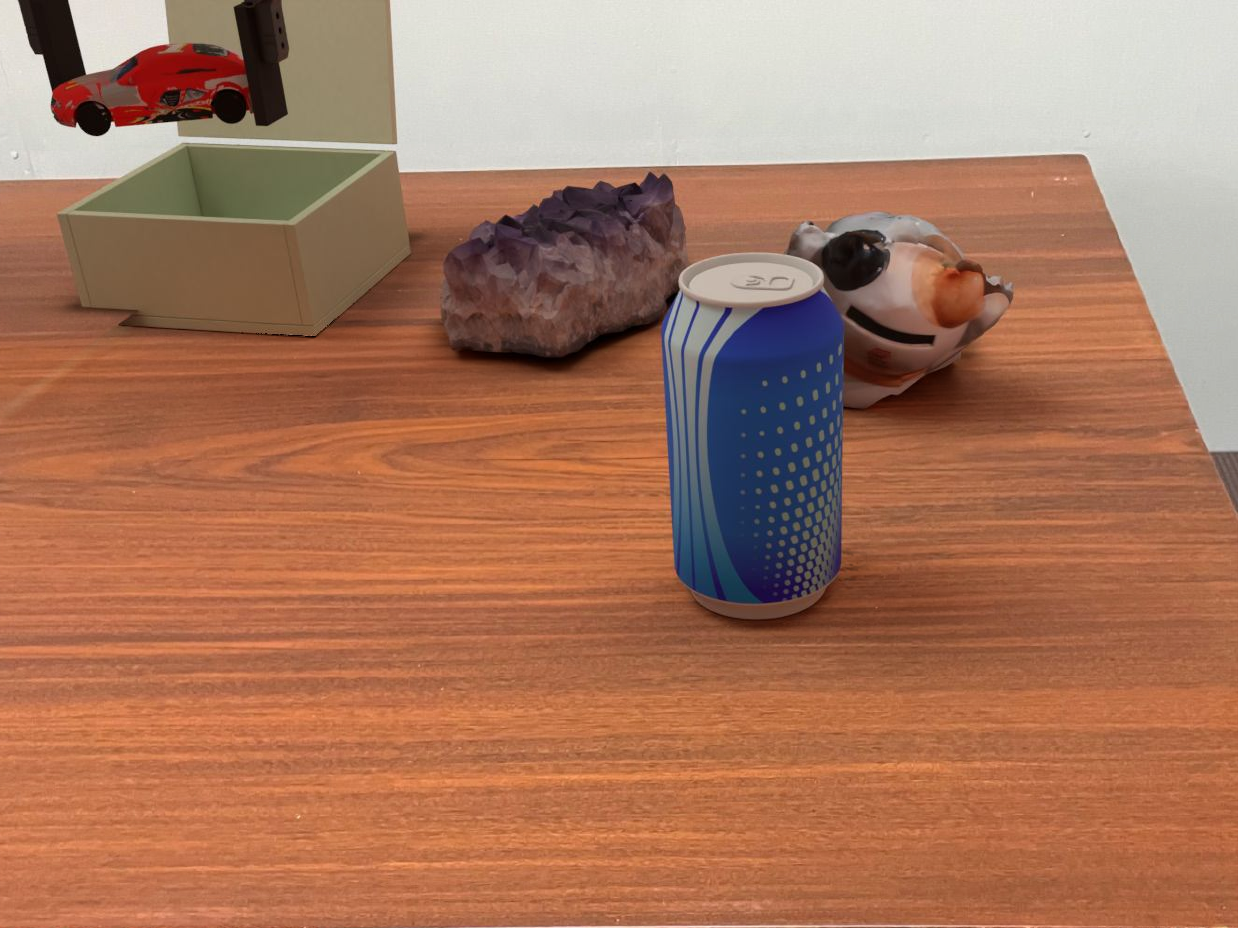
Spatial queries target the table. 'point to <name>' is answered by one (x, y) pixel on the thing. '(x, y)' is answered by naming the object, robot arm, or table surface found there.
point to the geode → (566, 270)
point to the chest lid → (308, 69)
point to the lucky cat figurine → (899, 298)
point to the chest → (239, 237)
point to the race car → (157, 89)
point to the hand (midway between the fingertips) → (173, 116)
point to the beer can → (754, 433)
